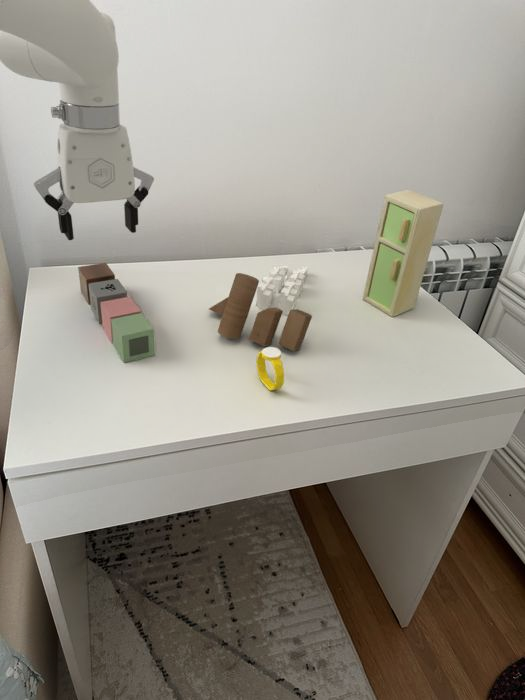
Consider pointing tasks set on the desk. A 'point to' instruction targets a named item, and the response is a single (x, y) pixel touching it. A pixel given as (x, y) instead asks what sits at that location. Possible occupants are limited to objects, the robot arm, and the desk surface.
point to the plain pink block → (116, 312)
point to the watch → (274, 357)
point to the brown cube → (93, 277)
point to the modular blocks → (275, 284)
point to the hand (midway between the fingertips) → (100, 233)
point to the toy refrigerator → (401, 251)
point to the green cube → (133, 337)
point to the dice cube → (104, 294)
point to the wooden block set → (258, 317)
